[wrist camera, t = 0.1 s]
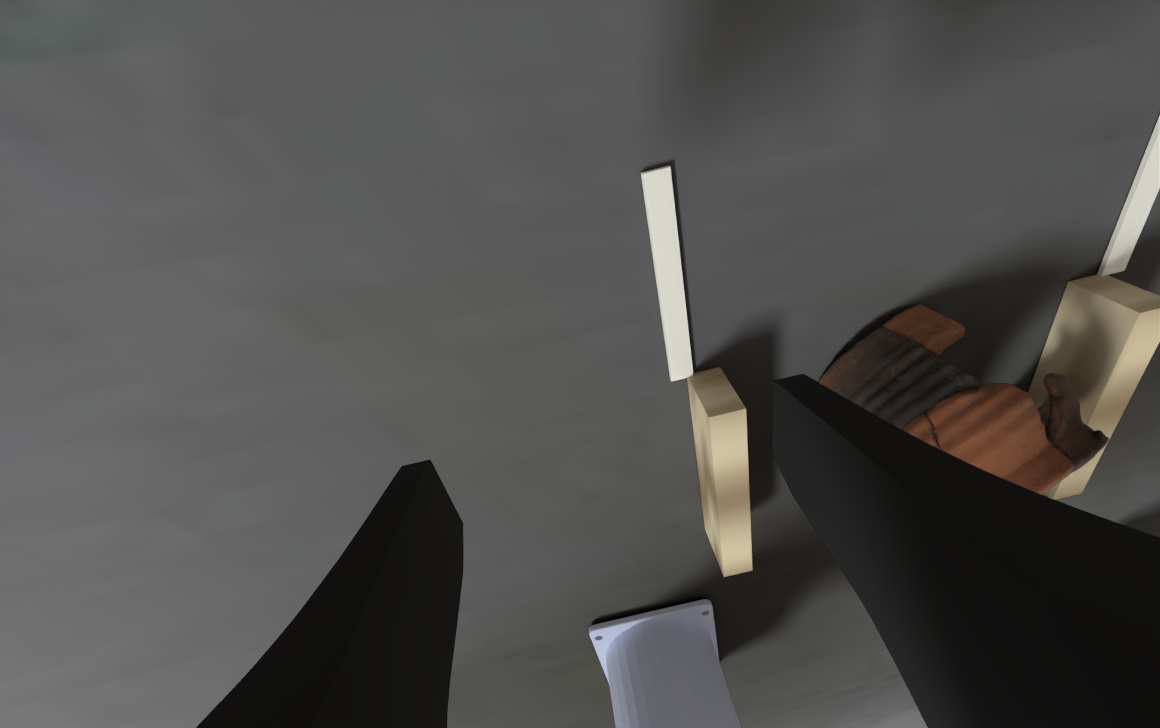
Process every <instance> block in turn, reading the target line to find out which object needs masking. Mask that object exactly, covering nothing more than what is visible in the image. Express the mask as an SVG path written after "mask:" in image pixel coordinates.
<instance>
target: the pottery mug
mask: <svg viewBox="0 0 1160 728" xmlns="http://www.w3.org/2000/svg"><path fill="white" fill-rule="evenodd" d="M964 335H965V328H964V327H963V326H962V325H961V324H960V323H958V322H956V321H955V320H953V319H950V318H947V317H945V316H943V315H941V314H939V313H937V312H935V311H933V310H930V309H929V308H927V307H925V306H923V305H915V306H914V307H911V308H908V309H906V310H904V311H903V312H902V313H900V314H897V315H895V316H894V317H893V318H892V319H891V320H889V321H888V322H886V323H885V324H883V325H882V326H881V327H879V328H877V329H876V330H874V331H873V332H872V333H871V334H869V335H868V336H867V337H866V338H864V339H862V340H859V341H857V342H856V343H855V344H854V345H853V347H852V348H851V349H849V350H848V351H846V352H845V353H844V354H842V355H841V356H840V358H839V359H837V360H836V361H835V362H834V363H833V364H832V365H831V367H830V368H829V369H828V370H827V371H826V372H825V374H824V375H823V376H822V378H821V379H820V380H819V383H820V384H822V385H824V386H826V387H827V388H829V389H831V390H833V391H834V392H836V393H838V394H839V395H841V396H843V397H845V398H846V399H848V400H850V401H851V402H853V403H855V404H857V405H858V406H860V407H862V408H864V409H865V410H867V411H869V412H871V413H872V414H874V415H876V416H878V417H880V418H881V419H883V420H885V421H887V422H889V423H890V424H892V425H894V426H896V427H898V428H900V429H902V430H903V431H905V432H907V433H909V434H911V435H913V436H915V437H917V438H919V439H921V440H922V441H924V442H926V443H928V444H930V445H932V446H934V447H936V448H938V449H940V450H942V451H944V452H947V453H949V454H951V455H953V456H955V457H957V458H959V459H961V460H963V461H965V462H967V463H969V464H971V465H973V466H976V467H978V468H980V469H982V470H984V471H987V472H989V473H991V474H993V475H996V476H998V477H1000V478H1003V479H1005V480H1008V481H1010V482H1012V483H1015V484H1017V485H1019V486H1022V487H1024V488H1027V489H1029V490H1031V491H1034V492H1036V493H1038V494H1041V495H1042V494H1043V493H1045V492H1046V491H1048V490H1049V489H1051V488H1052V487H1054V486H1055V485H1057V484H1058V483H1059V482H1061V481H1062V480H1063V479H1065V478H1066V477H1067V476H1069V475H1070V473H1072V472H1074V471H1077V470H1078V469H1079V468H1081V467H1082V466H1084V465H1085V464H1087V463H1088V462H1089V461H1090V460H1091V459H1092V458H1094V457H1095V455H1096V454H1097V453H1098V452H1099V451H1100V450H1101V449H1102V448H1103V447H1104V446H1105V445H1106V444H1107V442H1108V440H1109V438H1108V437H1106V436H1105V435H1104V434H1103V432H1102V431H1100V430H1096V431H1094V430H1093V429H1091V428H1090V427H1089V426H1087V425H1086V424H1084V423H1083V422H1082V419H1081V414H1080V402H1079V400H1078V396H1077V393H1076V392H1075V391H1074V390H1073V389H1072V387H1071V386H1070V384H1069V382H1068V379H1067V377H1066V376H1064V375H1062V374H1056V373H1049V374H1047V375H1046V376H1045V377H1044V381H1043V382H1044V385H1045V388H1046V389H1047V391H1048V397H1047V399H1046V401H1045V402H1044V404H1043V405H1042V406H1041V407H1039V408H1036V406H1035V405H1034V402H1033V399H1032V398H1031V396H1030V395H1029V393H1027V392H1026V391H1022V390H1020V389H1019V388H1018V387H1016V386H1014V385H1010V384H1007V383H993V384H988V385H983V384H982V381H981V380H980V379H978V378H976V377H975V376H973V375H971V374H969V373H967V372H966V371H964V370H961V369H959V368H957V367H956V366H954V365H953V364H951V363H949V362H946V361H943V360H942V359H940V358H939V356H940V355H941V354H942V352H943V351H944V350H945V349H947V348H948V347H949V346H951V345H952V344H953V343H955V342H956V341H958V340H960V339H962V338H963V337H964Z"/></svg>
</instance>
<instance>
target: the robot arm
mask: <svg viewBox="0 0 1160 728" xmlns="http://www.w3.org/2000/svg"><path fill="white" fill-rule="evenodd" d="M772 454H773V456H774V458H775V460H776V462H777V464H778V466H779V468H780V471H781V473H782V475H783V477H784V479H785V481H786V483H787V485H788V487H789V489H790V491H791V493H792V495H793V497H794V498H795V500H796V501H797V503H798V504H799V506H800V508H801V509H802V511H803V512H804V514H805V515H806V517H807V518H808V520H809V522H810V523H811V525H812V526H813V528H814V529H815V531H816V532H817V534H818V535H819V537H820V538H821V540H822V541H823V543H824V545H825V546H826V548H827V549H828V551H829V552H830V554H831V555H832V557H833V558H834V560H835V561H836V563H837V564H838V566H839V567H840V569H841V570H842V572H843V573H844V575H845V577H846V578H847V580H848V581H849V583H850V584H851V586H852V587H853V589H854V590H855V592H856V593H857V595H858V597H859V598H860V600H861V602H862V603H863V605H864V607H865V608H866V610H867V612H868V613H869V615H870V617H871V619H872V620H873V622H874V624H875V626H876V628H877V630H878V632H879V634H880V635H881V637H882V639H883V641H884V643H885V645H886V647H887V649H888V651H889V652H890V654H891V656H892V658H893V660H894V662H895V664H896V666H897V668H898V669H899V671H900V673H901V675H902V677H903V679H904V681H905V683H906V685H907V687H908V689H909V691H910V693H911V695H912V697H913V699H914V701H915V703H916V705H917V707H918V709H919V711H920V713H921V715H922V717H923V719H924V721H925V723H926V725H927V727H928V728H1160V538H1159V537H1156V536H1153V535H1150V534H1147V533H1144V532H1141V531H1138V530H1135V529H1132V528H1130V527H1127V526H1124V525H1121V524H1119V523H1116V522H1113V521H1110V520H1107V519H1105V518H1102V517H1099V516H1096V515H1094V514H1091V513H1088V512H1085V511H1082V510H1080V509H1077V508H1074V507H1072V506H1069V505H1066V504H1064V503H1061V502H1059V501H1056V500H1053V499H1051V498H1048V497H1046V496H1043V495H1041V494H1038V493H1036V492H1034V491H1031V490H1029V489H1027V488H1024V487H1022V486H1019V485H1017V484H1015V483H1012V482H1010V481H1008V480H1005V479H1003V478H1000V477H998V476H996V475H993V474H991V473H989V472H987V471H984V470H982V469H980V468H978V467H976V466H973V465H971V464H969V463H967V462H965V461H963V460H961V459H959V458H957V457H955V456H953V455H951V454H949V453H947V452H944V451H942V450H940V449H938V448H936V447H934V446H932V445H930V444H928V443H926V442H924V441H922V440H921V439H919V438H917V437H915V436H913V435H911V434H909V433H907V432H905V431H903V430H902V429H900V428H898V427H896V426H894V425H892V424H890V423H889V422H887V421H885V420H883V419H881V418H880V417H878V416H876V415H874V414H872V413H871V412H869V411H867V410H865V409H864V408H862V407H860V406H858V405H857V404H855V403H853V402H851V401H850V400H848V399H846V398H845V397H843V396H841V395H839V394H838V393H836V392H834V391H833V390H831V389H829V388H827V387H826V386H824V385H822V384H820V383H819V382H817V381H815V380H813V379H812V378H810V377H808V376H806V375H804V374H800V375H796V376H792V377H787V378H783V379H779V380H774V386H773V435H772ZM462 577H463V522H462V520H461V518H460V517H459V515H458V513H457V511H456V509H455V507H454V505H453V503H452V501H451V499H450V497H449V495H448V493H447V491H446V489H445V487H444V485H443V483H442V481H441V479H440V477H439V476H438V474H437V472H436V470H435V468H434V466H433V464H432V462H431V460H427V461H422V462H418V463H414V464H409V465H405V466H402V467H401V468H400V470H399V471H398V472H397V474H396V475H395V477H394V478H393V480H392V481H391V483H390V484H389V486H388V487H387V489H386V490H385V492H384V493H383V495H382V496H381V498H380V499H379V501H378V502H377V504H376V505H375V507H374V508H373V510H372V511H371V513H370V514H369V516H368V517H367V519H366V520H365V522H364V523H363V525H362V526H361V528H360V529H359V531H358V532H357V534H356V535H355V536H354V538H353V539H352V541H351V542H350V544H349V545H348V547H347V548H346V550H345V551H344V552H343V554H342V555H341V557H340V558H339V560H338V561H337V562H336V564H335V565H334V566H333V568H332V569H331V570H330V572H329V573H328V574H327V576H326V577H325V578H324V580H323V581H322V582H321V584H320V585H319V586H318V588H317V589H316V590H315V592H314V593H313V594H312V596H311V597H310V598H309V600H308V601H307V602H306V604H305V605H304V606H303V608H302V609H301V610H300V612H299V613H298V614H297V615H296V617H295V618H294V619H293V620H292V622H291V623H290V624H289V625H288V626H287V628H286V629H285V630H284V631H283V633H282V634H281V635H280V636H279V637H278V639H277V640H276V641H275V642H274V643H273V644H272V646H271V647H270V648H269V649H268V650H267V651H266V653H265V654H264V655H263V656H262V657H261V658H260V659H259V661H258V662H257V663H256V664H255V665H254V666H253V668H252V669H251V670H250V671H249V672H248V673H247V674H246V675H245V677H244V678H243V679H242V680H241V681H240V682H239V683H238V684H237V685H236V686H235V687H234V688H233V689H232V690H231V691H230V692H229V694H228V695H227V696H226V697H225V698H224V699H223V700H222V701H221V702H220V703H219V704H218V705H217V706H216V707H215V708H214V709H213V710H212V711H211V713H210V714H209V715H208V716H207V717H206V718H205V719H204V720H203V721H202V722H201V723H200V724H199V725H198V726H197V727H196V728H447V710H448V698H449V686H450V677H451V669H452V661H453V653H454V644H455V636H456V628H457V620H458V612H459V603H460V595H461V586H462ZM589 634H590V637H591V640H592V642H593V645H594V647H595V650H596V652H597V655H598V657H599V660H600V662H601V665H602V667H603V670H604V672H605V675H606V677H607V680H608V682H609V685H610V692H611V698H612V705H613V712H614V718H615V725H616V728H741V727H740V724H739V721H738V718H737V715H736V712H735V709H734V706H733V703H732V700H731V697H730V694H729V691H728V688H727V685H726V682H725V679H724V676H723V673H722V670H721V667H720V663H719V655H718V647H717V639H716V631H715V623H714V615H713V607H712V604H711V601H710V600H708V599H702V600H697V601H693V602H689V603H685V604H680V605H676V606H672V607H667V608H663V609H659V610H655V611H650V612H646V613H642V614H637V615H633V616H629V617H625V618H620V619H616V620H612V621H607V622H603V623H599V624H595V625H592V626H591V627H590V628H589Z"/></svg>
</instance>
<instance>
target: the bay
mask: <svg viewBox="0 0 1160 728" xmlns="http://www.w3.org/2000/svg"><path fill="white" fill-rule="evenodd" d="M641 179H642V186H643V193H644V200H645V207H646V214H647V220H648V227H649V234H650V241H651V248H652V255H653V262H654V269H655V276H656V283H657V290H658V297H659V304H660V311H661V318H662V325H663V332H664V339H665V346H666V353H667V360H668V367H669V374H670V380H671V382H672V381H676V380H680V379H684V378H688V377H692V376H694V375H693V366H692V357H691V348H690V339H689V330H688V321H687V312H686V303H685V294H684V285H683V276H682V267H681V257H680V248H679V239H678V230H677V221H676V212H675V203H674V194H673V185H672V176H671V167H670V166H665V167H661V168H657V169H653V170H649V171H645V172H641ZM1159 188H1160V116H1159V118H1158V121H1157V123H1156V126H1155V128H1154V131H1153V133H1152V136H1151V138H1150V141H1149V144H1148V146H1147V149H1146V151H1145V154H1144V156H1143V159H1142V161H1141V164H1140V166H1139V169H1138V171H1137V174H1136V176H1135V179H1134V182H1133V184H1132V187H1131V189H1130V192H1129V194H1128V197H1127V199H1126V202H1125V204H1124V207H1123V209H1122V212H1121V214H1120V217H1119V220H1118V222H1117V225H1116V227H1115V230H1114V232H1113V235H1112V237H1111V240H1110V242H1109V245H1108V247H1107V250H1106V253H1105V255H1104V258H1103V260H1102V263H1101V265H1100V268H1099V270H1098V273H1097V275H1099V276H1105V275H1109V274H1113V273H1117V272H1121V271H1125V268H1126V266H1127V264H1128V261H1129V259H1130V257H1131V254H1132V252H1133V249H1134V247H1135V245H1136V242H1137V240H1138V238H1139V235H1140V233H1141V231H1142V228H1143V226H1144V224H1145V221H1146V219H1147V217H1148V214H1149V212H1150V210H1151V207H1152V205H1153V203H1154V200H1155V198H1156V196H1157V193H1158V191H1159Z"/></svg>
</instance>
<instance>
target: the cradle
mask: <svg viewBox="0 0 1160 728" xmlns="http://www.w3.org/2000/svg"><path fill="white" fill-rule="evenodd" d="M1159 342H1160V296H1159V295H1156V294H1154V293H1151V292H1149V291H1146V290H1144V289H1141V288H1139V287H1136V286H1134V285H1131V284H1129V283H1126V282H1123V281H1121V280H1118V279H1116V278H1113V277H1111V276H1108V275H1105V276H1099V275H1093V276H1089V277H1085V278H1081V279H1077V280H1073V281H1068V283H1067V286H1066V289H1065V292H1064V294H1063V297H1062V300H1061V303H1060V305H1059V308H1058V311H1057V314H1056V317H1055V319H1054V322H1053V325H1052V328H1051V330H1050V333H1049V336H1048V339H1047V341H1046V344H1045V347H1044V350H1043V352H1042V355H1041V358H1040V361H1039V363H1038V366H1037V369H1036V372H1035V374H1034V377H1033V380H1032V383H1031V385H1030V388H1029V391H1028V393H1029V395H1030V396H1031V398H1032V399H1033V402H1034V405H1035V406H1036V408H1039V407H1041V406H1042V405H1043V404H1044V402H1045V401H1046V399H1047V397H1048V391H1047V389H1046V388H1045V385H1044V382H1043V381H1044V377H1045V376H1046V375H1047V374H1049V373H1056V374H1062V375H1064V376H1066V377H1067V379H1068V382H1069V384H1070V386H1071V387H1072V389H1073V390H1074V391H1075V392H1076V393H1077V396H1078V400H1079V402H1080V414H1081V419H1082V422H1083V423H1084V424H1086V425H1087V426H1089V427H1090V428H1091V429H1093V430H1094V431H1096V430H1100V431H1102V432H1103V434H1104V435H1105V436H1106V437H1108V438H1109V439H1110V437H1111V435H1112V433H1113V431H1114V430H1115V428H1116V426H1117V424H1118V422H1119V420H1120V418H1121V416H1122V414H1123V412H1124V410H1125V408H1126V406H1127V404H1128V402H1129V400H1130V398H1131V396H1132V394H1133V392H1134V391H1135V389H1136V387H1137V385H1138V383H1139V381H1140V379H1141V377H1142V375H1143V373H1144V371H1145V369H1146V367H1147V365H1148V363H1149V361H1150V359H1151V357H1152V355H1153V354H1154V352H1155V350H1156V348H1157V346H1158V344H1159ZM693 375H694V376H692V377H688V378H687V381H688V390H689V398H690V406H691V415H692V423H693V431H694V440H695V448H696V456H697V465H698V473H699V481H700V490H701V498H702V506H703V515H704V523H705V530H706V533H707V535H708V538H709V540H710V543H711V545H712V548H713V551H714V553H715V556H716V558H717V561H718V563H719V566H720V568H721V571H722V573H723V576H724V577H727V576H731V575H736V574H740V573H744V572H748V571H752V545H751V520H750V494H749V468H748V443H747V417H746V408H745V406H744V404H743V403H742V401H741V400H740V398H739V396H738V395H737V393H736V392H735V390H734V388H733V387H732V385H731V384H730V382H729V381H728V379H727V377H726V376H725V374H724V373H723V371H722V369H721V368H720V367H717V368H713V369H709V370H705V371H701V372H697V373H693ZM1108 441H1109V440H1108ZM1107 443H1108V442H1107ZM1106 445H1107V444H1106ZM1106 445H1105V446H1104V447H1103V448H1102V449H1101V450H1100V451H1099V452H1098V453H1097V454H1096V455H1095V457H1094V458H1092V459H1091V460H1090V461H1089V462H1088V463H1087V464H1085V465H1084V466H1082V467H1081V468H1079V469H1078V470H1077V471H1074V472H1072V473H1070V475H1069V476H1067V477H1066V478H1065V479H1063V480H1062V481H1061V482H1059V483H1058V484H1057V485H1055V486H1054V487H1052V488H1051V489H1049V490H1048V491H1046V492H1045V493H1044V494H1045V495H1047V496H1048V497H1049V498H1051V499H1053V500H1056V499H1060V498H1064V497H1069V496H1073V495H1077V494H1082V492H1083V490H1084V488H1085V486H1086V484H1087V482H1088V480H1089V478H1090V476H1091V474H1092V472H1093V470H1094V469H1095V467H1096V465H1097V463H1098V461H1099V459H1100V457H1101V455H1102V453H1103V451H1104V449H1105V447H1106Z"/></svg>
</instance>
